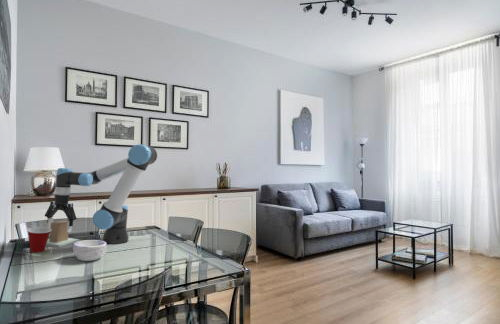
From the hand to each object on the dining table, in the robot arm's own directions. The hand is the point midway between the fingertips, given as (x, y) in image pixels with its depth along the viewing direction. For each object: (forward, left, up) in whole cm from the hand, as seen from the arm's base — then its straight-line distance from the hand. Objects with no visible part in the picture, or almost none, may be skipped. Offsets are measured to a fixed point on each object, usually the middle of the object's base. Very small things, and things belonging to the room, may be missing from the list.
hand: (59, 230), depth 181 cm
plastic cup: (-5, +18, -8) cm, 20 cm away
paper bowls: (-35, +16, -8) cm, 39 cm away
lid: (0, 0, -7) cm, 7 cm away
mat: (0, 0, -7) cm, 7 cm away
